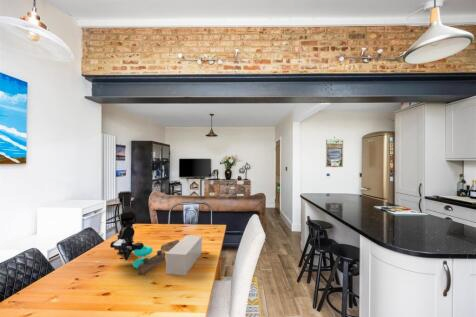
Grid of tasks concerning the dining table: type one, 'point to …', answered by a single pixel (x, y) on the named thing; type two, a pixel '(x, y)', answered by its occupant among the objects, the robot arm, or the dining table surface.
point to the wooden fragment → (169, 246)
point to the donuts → (142, 252)
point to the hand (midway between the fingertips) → (126, 260)
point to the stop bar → (151, 263)
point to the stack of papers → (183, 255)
